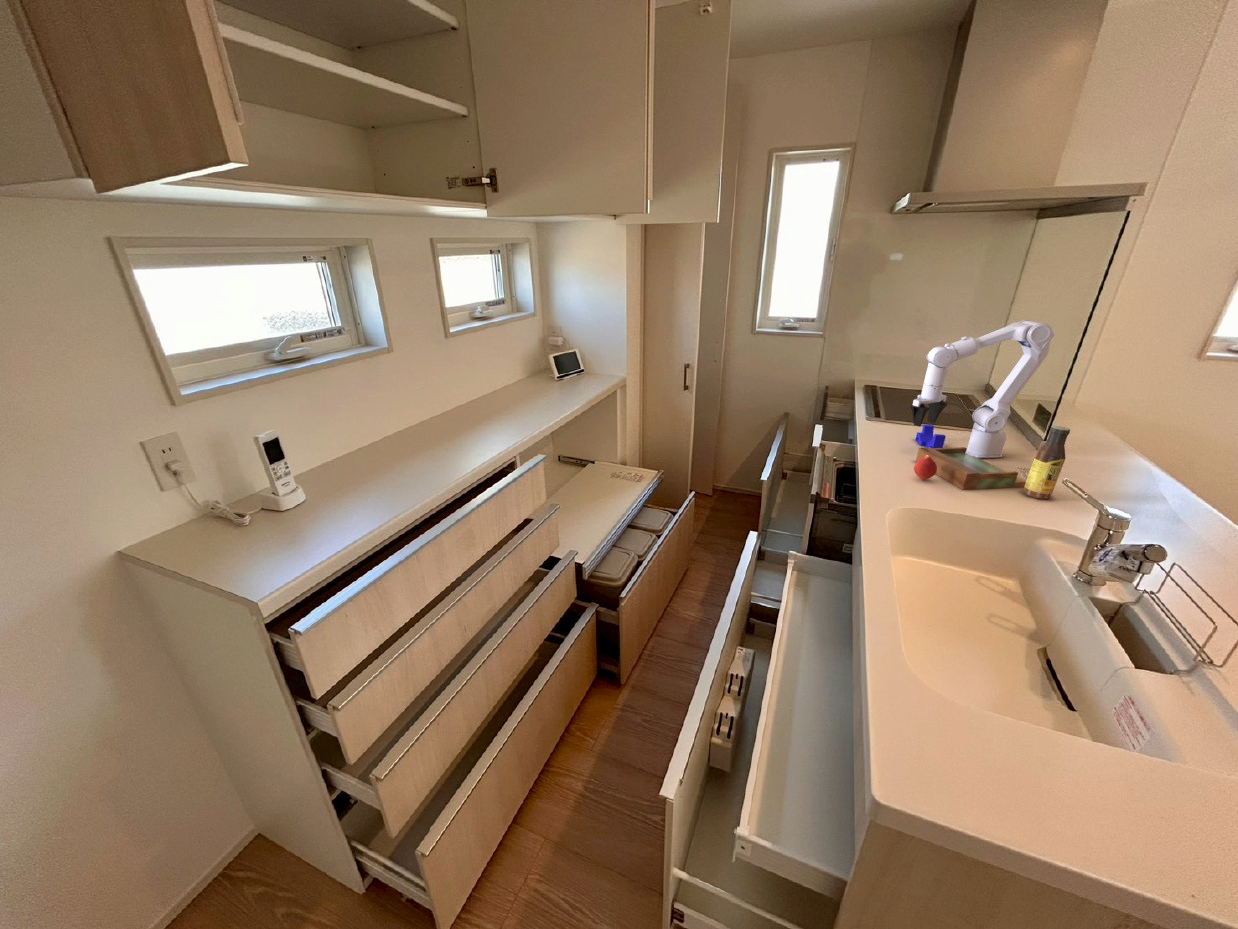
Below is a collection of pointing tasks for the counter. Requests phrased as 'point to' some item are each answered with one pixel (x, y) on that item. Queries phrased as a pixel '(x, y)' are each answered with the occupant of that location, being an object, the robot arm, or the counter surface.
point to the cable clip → (930, 437)
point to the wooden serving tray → (969, 469)
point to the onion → (925, 468)
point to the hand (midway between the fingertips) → (924, 424)
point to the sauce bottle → (1047, 464)
